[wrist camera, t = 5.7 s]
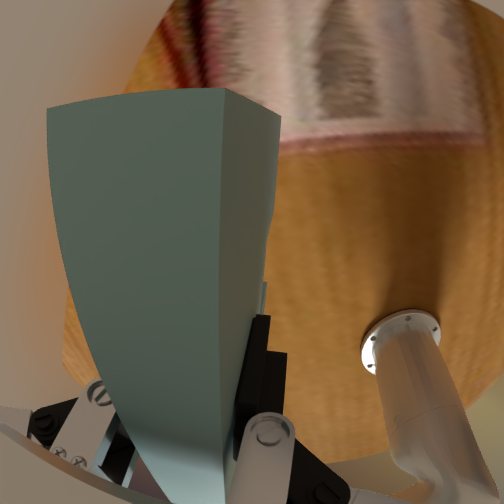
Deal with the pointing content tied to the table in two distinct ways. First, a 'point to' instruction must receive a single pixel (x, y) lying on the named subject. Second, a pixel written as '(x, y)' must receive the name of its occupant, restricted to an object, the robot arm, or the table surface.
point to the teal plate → (167, 263)
